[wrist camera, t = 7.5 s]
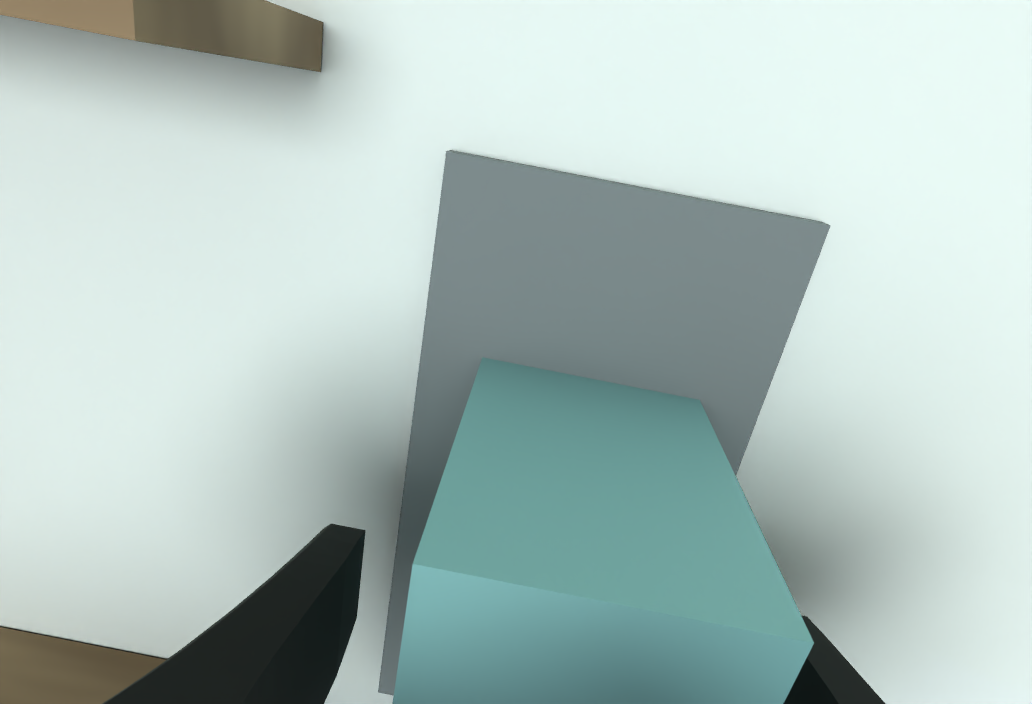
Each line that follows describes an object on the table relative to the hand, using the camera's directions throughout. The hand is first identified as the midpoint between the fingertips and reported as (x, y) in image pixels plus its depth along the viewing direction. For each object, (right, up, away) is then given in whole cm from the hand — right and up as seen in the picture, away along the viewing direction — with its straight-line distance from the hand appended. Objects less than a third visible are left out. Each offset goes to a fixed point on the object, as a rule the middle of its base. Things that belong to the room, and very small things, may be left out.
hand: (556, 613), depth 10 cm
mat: (0, +1, +3) cm, 3 cm away
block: (0, +1, +3) cm, 3 cm away
